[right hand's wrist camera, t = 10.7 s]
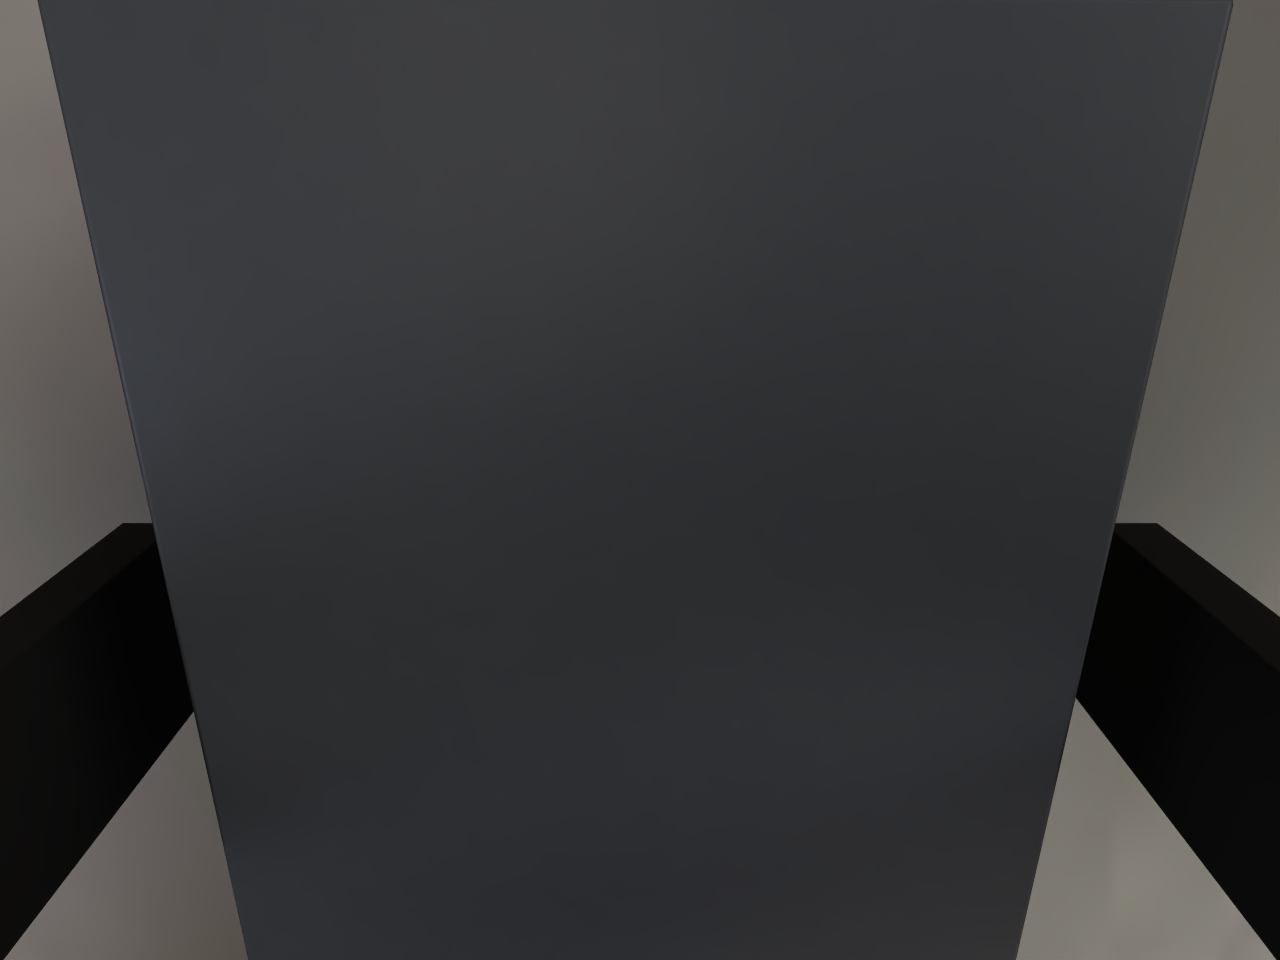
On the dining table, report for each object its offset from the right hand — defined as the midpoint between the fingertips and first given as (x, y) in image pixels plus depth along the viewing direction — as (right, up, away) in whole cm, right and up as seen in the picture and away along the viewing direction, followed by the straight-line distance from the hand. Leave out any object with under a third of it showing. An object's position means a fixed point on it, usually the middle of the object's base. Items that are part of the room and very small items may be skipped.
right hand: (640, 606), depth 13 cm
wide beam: (0, -15, +10) cm, 18 cm away
